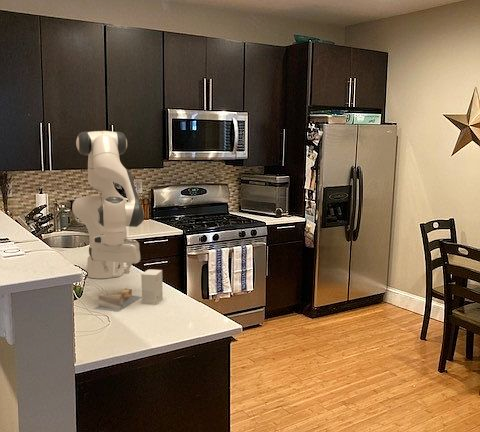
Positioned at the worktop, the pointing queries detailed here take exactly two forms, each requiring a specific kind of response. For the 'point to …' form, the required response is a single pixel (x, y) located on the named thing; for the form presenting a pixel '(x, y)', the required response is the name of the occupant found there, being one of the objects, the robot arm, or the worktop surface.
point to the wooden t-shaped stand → (115, 299)
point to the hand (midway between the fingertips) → (116, 272)
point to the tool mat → (124, 304)
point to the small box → (151, 287)
